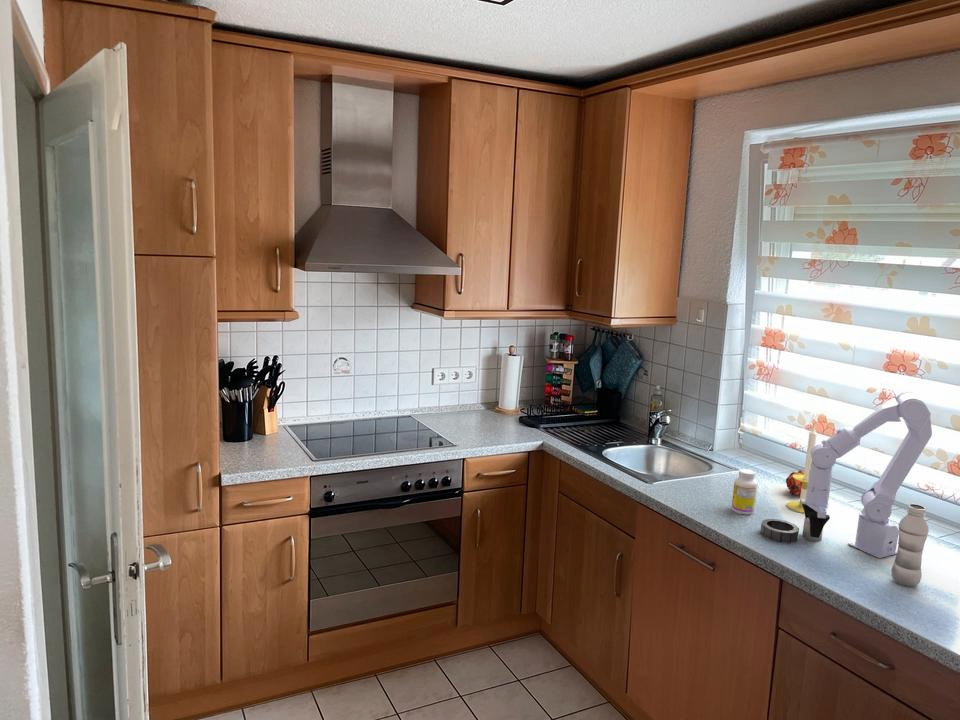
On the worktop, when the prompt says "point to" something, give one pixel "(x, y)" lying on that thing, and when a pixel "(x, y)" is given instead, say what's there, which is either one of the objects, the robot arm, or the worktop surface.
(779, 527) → the segmented grey ring
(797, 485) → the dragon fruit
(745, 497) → the supplement bottle
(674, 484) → the worktop surface
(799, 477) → the candle
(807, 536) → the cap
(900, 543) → the plastic bottle
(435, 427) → the worktop surface
